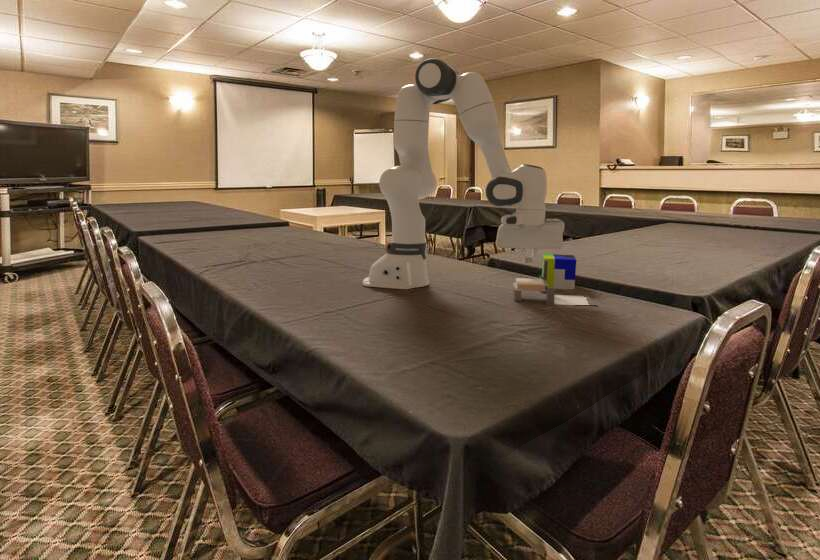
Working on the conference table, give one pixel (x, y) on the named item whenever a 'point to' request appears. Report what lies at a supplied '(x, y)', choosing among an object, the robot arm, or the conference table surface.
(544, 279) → the flipper
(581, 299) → the mat
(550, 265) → the puzzle toy
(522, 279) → the tile
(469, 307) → the conference table surface
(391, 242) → the robot arm
